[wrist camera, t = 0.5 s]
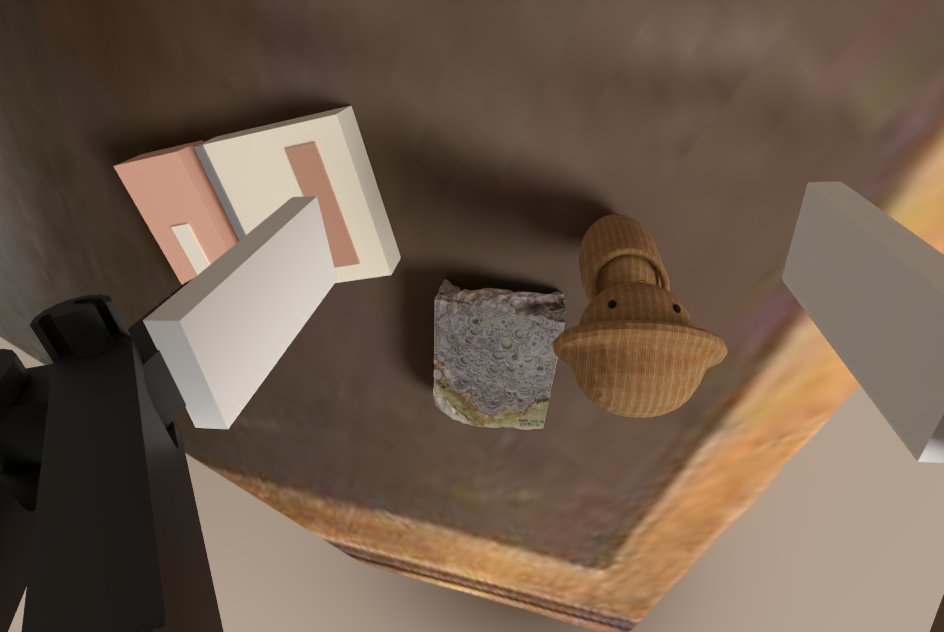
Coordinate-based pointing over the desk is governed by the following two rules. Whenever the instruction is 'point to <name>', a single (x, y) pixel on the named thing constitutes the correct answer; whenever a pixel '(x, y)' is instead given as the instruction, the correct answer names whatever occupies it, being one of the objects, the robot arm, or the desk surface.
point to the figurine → (633, 327)
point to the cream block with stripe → (307, 185)
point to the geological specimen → (495, 355)
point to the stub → (179, 207)
